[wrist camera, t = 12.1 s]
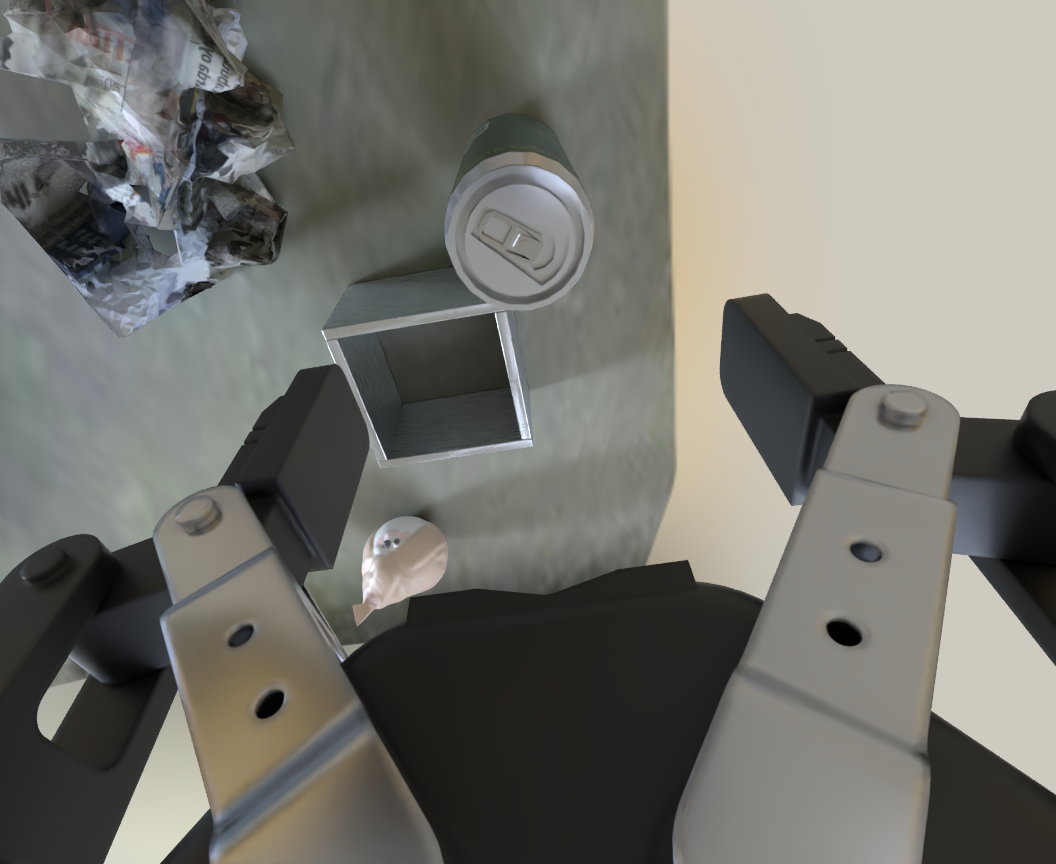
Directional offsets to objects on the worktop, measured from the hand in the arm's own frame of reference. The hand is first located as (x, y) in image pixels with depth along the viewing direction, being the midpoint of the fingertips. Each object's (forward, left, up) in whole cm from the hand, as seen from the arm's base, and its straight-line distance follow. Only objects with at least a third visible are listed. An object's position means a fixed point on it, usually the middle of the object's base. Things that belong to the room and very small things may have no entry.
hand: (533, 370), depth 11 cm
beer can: (0, 0, -21) cm, 21 cm away
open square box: (+9, -6, -21) cm, 23 cm away
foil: (-4, -16, -21) cm, 27 cm away
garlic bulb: (+25, -13, -21) cm, 35 cm away
